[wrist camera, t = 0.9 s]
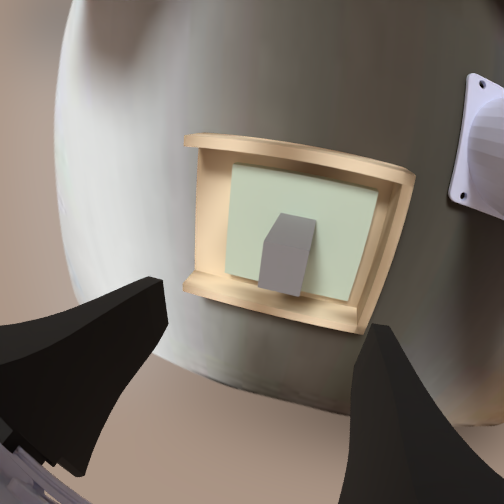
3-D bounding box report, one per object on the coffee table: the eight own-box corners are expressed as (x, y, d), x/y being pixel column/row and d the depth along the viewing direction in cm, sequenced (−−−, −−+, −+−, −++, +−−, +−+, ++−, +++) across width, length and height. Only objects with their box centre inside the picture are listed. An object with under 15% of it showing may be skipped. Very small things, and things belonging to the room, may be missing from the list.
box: (404, 167, 14) (415, 175, 12) (361, 311, 19) (363, 334, 17) (203, 132, 16) (184, 135, 14) (198, 273, 21) (182, 291, 19)
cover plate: (376, 188, 15) (392, 215, 10) (347, 294, 18) (346, 345, 14) (237, 162, 16) (201, 178, 12) (228, 267, 19) (198, 308, 15)
